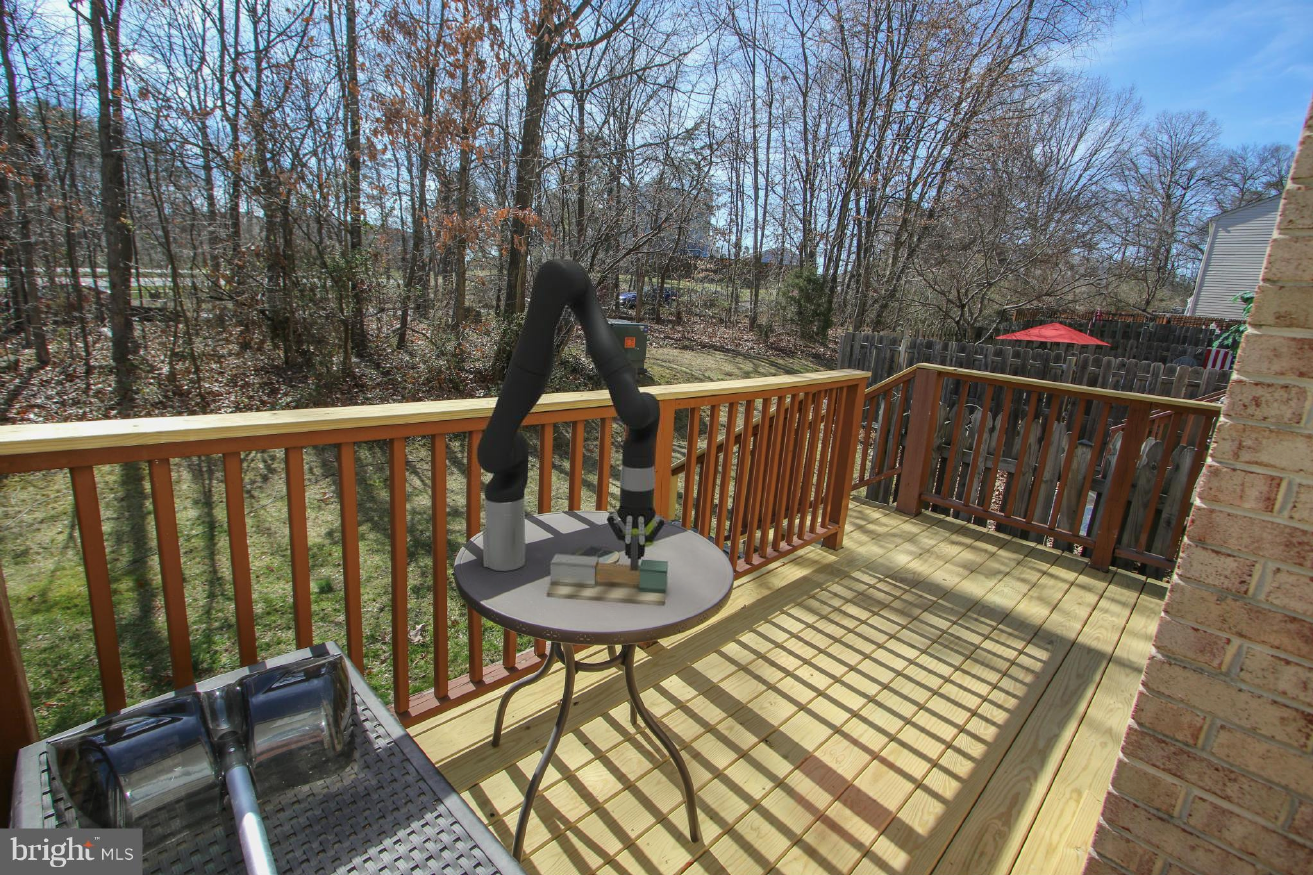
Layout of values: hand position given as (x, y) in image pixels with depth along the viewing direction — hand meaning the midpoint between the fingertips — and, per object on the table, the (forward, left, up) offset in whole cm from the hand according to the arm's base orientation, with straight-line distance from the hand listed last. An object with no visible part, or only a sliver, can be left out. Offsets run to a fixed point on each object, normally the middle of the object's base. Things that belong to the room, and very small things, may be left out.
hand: (634, 557), depth 138 cm
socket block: (+4, 0, -8) cm, 9 cm away
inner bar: (-4, 0, -6) cm, 7 cm away
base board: (-6, 0, -8) cm, 10 cm away
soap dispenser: (-1, +27, -8) cm, 28 cm away
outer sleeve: (-14, 0, -8) cm, 16 cm away
